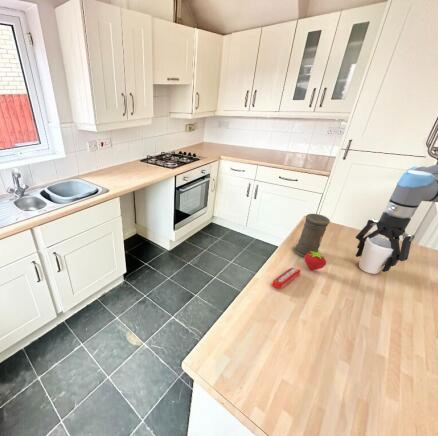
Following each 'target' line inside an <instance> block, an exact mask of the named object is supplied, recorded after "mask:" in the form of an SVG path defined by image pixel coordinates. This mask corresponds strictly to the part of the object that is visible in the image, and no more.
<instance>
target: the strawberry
mask: <svg viewBox="0 0 438 436" xmlns="http://www.w3.org/2000/svg"><path fill="white" fill-rule="evenodd" d="M310 252H311V251H310ZM303 258H304V263H305V265H306V267H307V269H308V270H309V271H311V272H312V271H318V270H321V269H323V268H324V267H325V266H326V265H327V260H326V259H325V256H323V253H319V252H317V253H315V252H311V253H307V254H306V255H305V256H304V257H303Z"/></svg>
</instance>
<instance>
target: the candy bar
mask: <svg viewBox="0 0 438 436" xmlns="http://www.w3.org/2000/svg"><path fill="white" fill-rule="evenodd" d="M301 271H302V270H301V269H298V268H295V267H290V268H289V269H287V270H285V271H284V272H283V273H282V274H279V276H277V277H275V279H273V280H272V283H271V285H270V286H272V287H274V288H276V289H282V288H284V287H285V286H286V285H288V284H289V283H291V282H292V281H294V280H295V279H296V278H297V277H298V276H299V275H300V274H301Z"/></svg>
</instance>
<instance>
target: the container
mask: <svg viewBox="0 0 438 436" xmlns="http://www.w3.org/2000/svg"><path fill="white" fill-rule="evenodd" d="M330 222H331V220H330V219H329V218H328V217H327V216H325V215H322V214H318V213H308V214H306V215H305V222H304V225H303V228H302V231H301V234H300V237H299V239H298V241H297V244H296V245H295V247H294V252H295V253H296V254H297V255H298V256H300V257H302V258H304V256H305V255H306V254H307V253H311V252H315V253H317V252H318V253H319V252H320V250H319V249H320V247H321V243H322V240H323V237H324V234H325V232H326V231H327V227H328V226H329V224H330ZM310 251H311V252H310Z"/></svg>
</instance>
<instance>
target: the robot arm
mask: <svg viewBox="0 0 438 436" xmlns="http://www.w3.org/2000/svg"><path fill="white" fill-rule="evenodd" d="M422 202H428V203H429V202H430V203H431V202H432V203H438V163H436V164H433V165H430V166H423V165H414V166H412V167H410V168H409V169H407V170H405V172H403V173H402V175H401V176H400V178H399V179H398V181H397V182H396V185H395V188H394V189H393V192H392V194H391V196H390V198H389V200H388V202H387V204H386V205H385V207H384V210H383V212H382V213H381V216H380V218H379V220H376V219H375V218H372V219H371V218H370V219H368V220H367V222H366V225H365V226H364V227H363V228H362V229H361V230H360V232H358V234H356V236H355V239H356V240H358V241H359V242H358V244H357V247H356V248H357V249H358V250H357V252H356V254H355V258H359V257H361V256H362V252H363V249H364V245H365V244H364V243H365V241H366V239H367V237H369V239H370V238H373V237H375V236H379V235H381V236H382V237H383V236H384V238H387V239H389V241H390V243H391V249H393V252H392V257H390V258H389V259H388V261H387V262H386V264H385V265H384V267H383V268H382V269H381V272H382V273H386V272H389V271H390V270H391V267H395V266H396V265H397V264H398V262H405V261H408V259H409V254H410V250H411V245H412V241H413V240H414V239H415V235H414V234H409V233H407V232H406V229H407V227H408V226H409V224H410V222H411V220H412V218H413V217H414V215H415V214H416V212H417V210H418V208H419V206H420V205H421V203H422ZM374 226H376V228H377V229H376V230H374V231H372V232H371V233H369V234H368V232H370V231H371V229H372V228H373V227H374ZM401 236H402V241H401V247H400V240H401V239H400V237H401Z"/></svg>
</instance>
